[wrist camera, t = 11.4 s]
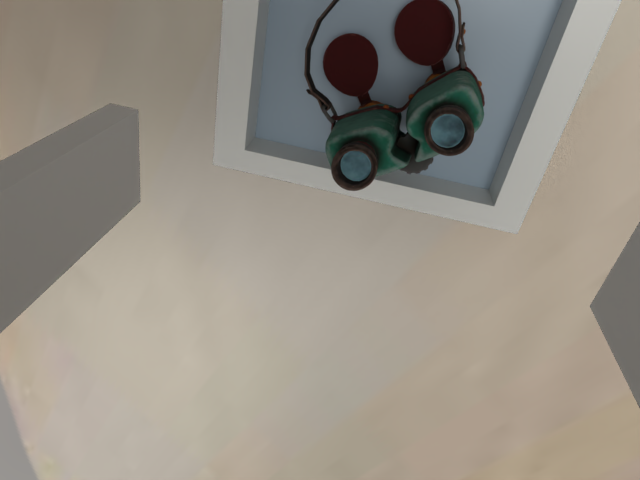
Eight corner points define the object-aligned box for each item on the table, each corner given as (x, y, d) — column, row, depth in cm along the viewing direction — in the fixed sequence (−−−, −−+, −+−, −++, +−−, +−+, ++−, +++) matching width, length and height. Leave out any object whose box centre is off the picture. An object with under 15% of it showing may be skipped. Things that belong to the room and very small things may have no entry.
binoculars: (440, -84, 18) (519, 167, 21) (437, -53, 27) (492, 118, 30) (233, 26, 21) (328, 232, 24) (294, 20, 30) (357, 168, 33)
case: (251, -129, 27) (231, -138, 24) (620, -56, 26) (646, -56, 23) (229, 146, 36) (212, 164, 33) (508, 209, 35) (517, 234, 32)
